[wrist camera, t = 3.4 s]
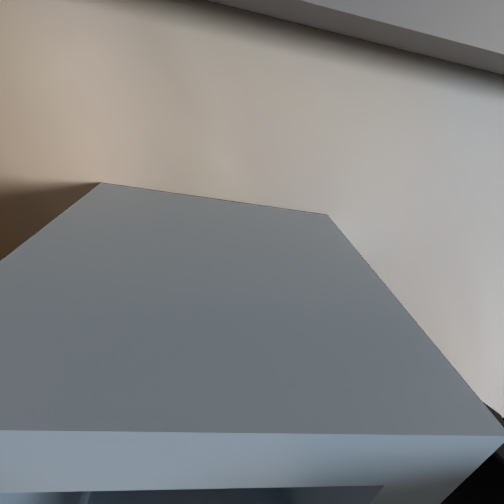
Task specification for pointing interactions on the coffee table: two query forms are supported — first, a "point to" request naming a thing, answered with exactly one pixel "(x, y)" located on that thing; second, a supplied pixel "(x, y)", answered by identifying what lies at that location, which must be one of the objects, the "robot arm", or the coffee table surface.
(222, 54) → the coffee table surface
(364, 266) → the blue-grey hollow cube
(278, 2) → the pin plate
